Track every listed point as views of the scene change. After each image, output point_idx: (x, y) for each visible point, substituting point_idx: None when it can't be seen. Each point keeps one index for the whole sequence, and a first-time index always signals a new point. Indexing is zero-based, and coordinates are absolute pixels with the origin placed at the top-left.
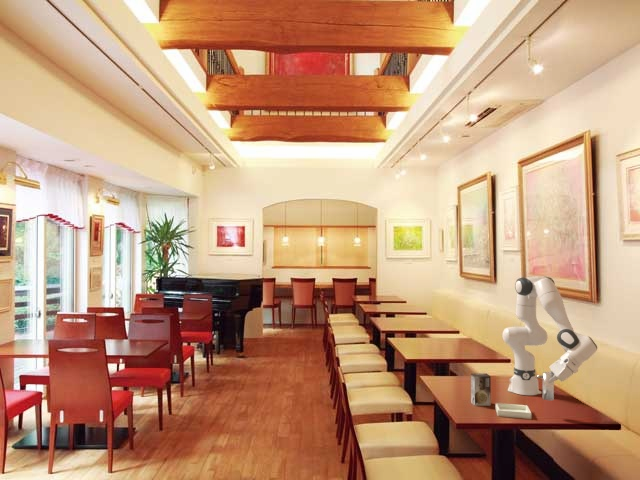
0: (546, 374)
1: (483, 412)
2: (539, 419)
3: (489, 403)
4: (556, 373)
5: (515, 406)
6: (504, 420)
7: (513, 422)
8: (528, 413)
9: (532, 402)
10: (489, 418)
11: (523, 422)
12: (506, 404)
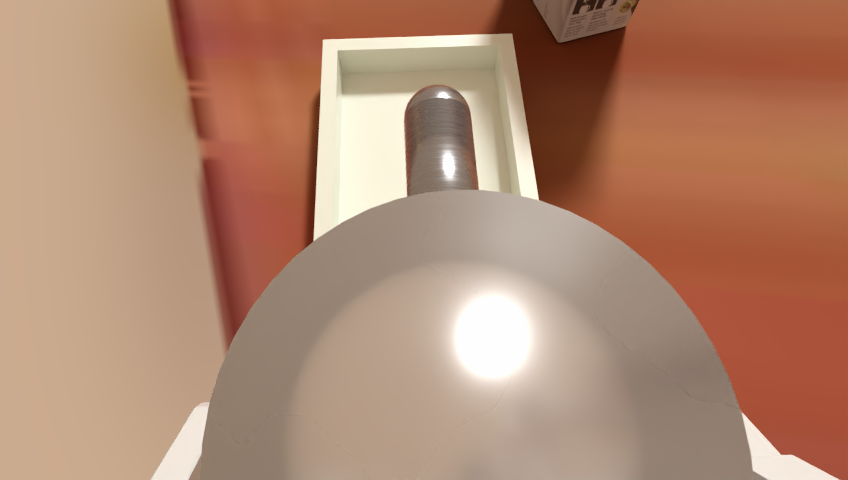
0: (250, 312)
1: (387, 5)
2: None
3: (557, 25)
4: None
5: (514, 166)
6: (250, 103)
7: (217, 151)
8: (314, 239)
9: (837, 340)
10: (272, 30)
11: (228, 213)
12: (506, 100)
